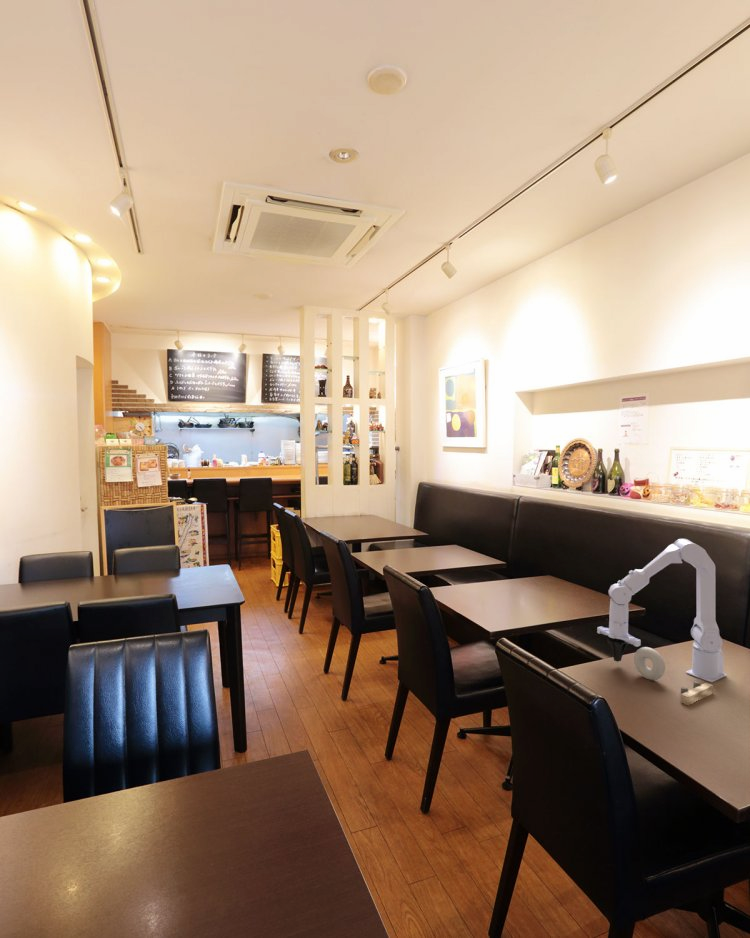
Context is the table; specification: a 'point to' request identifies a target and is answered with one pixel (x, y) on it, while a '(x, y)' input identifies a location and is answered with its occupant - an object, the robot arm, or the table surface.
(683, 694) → the locator
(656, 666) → the donut
